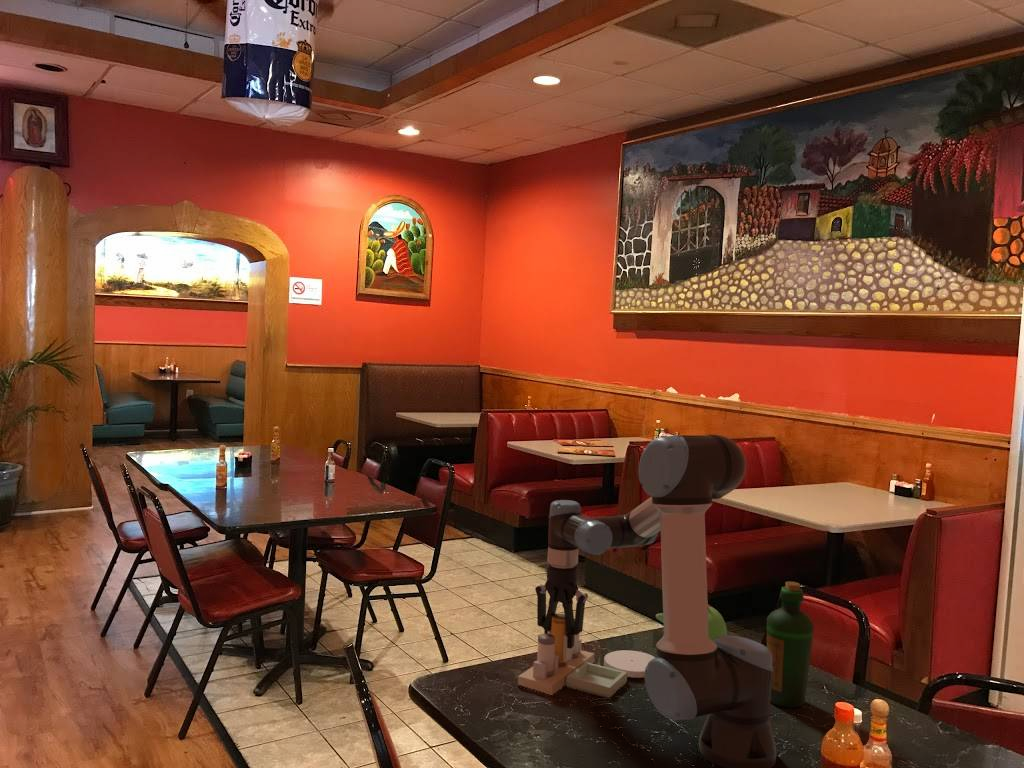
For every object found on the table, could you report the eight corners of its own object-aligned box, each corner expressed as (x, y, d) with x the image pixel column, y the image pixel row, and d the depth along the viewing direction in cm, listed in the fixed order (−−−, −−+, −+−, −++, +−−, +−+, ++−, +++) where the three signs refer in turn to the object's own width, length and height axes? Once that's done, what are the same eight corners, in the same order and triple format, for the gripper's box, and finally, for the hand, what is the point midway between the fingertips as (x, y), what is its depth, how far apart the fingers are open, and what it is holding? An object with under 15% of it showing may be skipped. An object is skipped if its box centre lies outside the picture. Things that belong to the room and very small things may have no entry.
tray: (608, 698, 195) (609, 687, 194) (566, 686, 200) (566, 676, 200) (626, 682, 204) (627, 672, 204) (585, 671, 210) (585, 661, 209)
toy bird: (717, 674, 212) (721, 616, 211) (652, 660, 219) (655, 605, 218) (730, 651, 228) (733, 597, 227) (669, 639, 235) (672, 587, 234)
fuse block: (551, 695, 195) (554, 647, 194) (517, 686, 199) (519, 638, 198) (594, 663, 215) (596, 618, 215) (562, 655, 220) (564, 611, 219)
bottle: (767, 688, 204) (774, 574, 203) (813, 699, 199) (821, 582, 197) (756, 703, 195) (763, 584, 194) (803, 715, 190) (811, 593, 188)
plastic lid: (593, 663, 216) (594, 653, 216) (640, 657, 222) (641, 647, 222) (621, 684, 203) (622, 674, 203) (670, 677, 209) (671, 667, 209)
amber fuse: (561, 668, 204) (563, 620, 204) (546, 665, 206) (549, 616, 206) (568, 663, 208) (571, 615, 207) (554, 659, 210) (556, 612, 209)
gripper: (600, 566, 205) (595, 661, 206) (539, 555, 213) (535, 646, 214) (587, 573, 198) (583, 670, 200) (525, 561, 207) (520, 655, 208)
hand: (558, 657), depth 207 cm, fingers closed on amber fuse, 4 cm apart
